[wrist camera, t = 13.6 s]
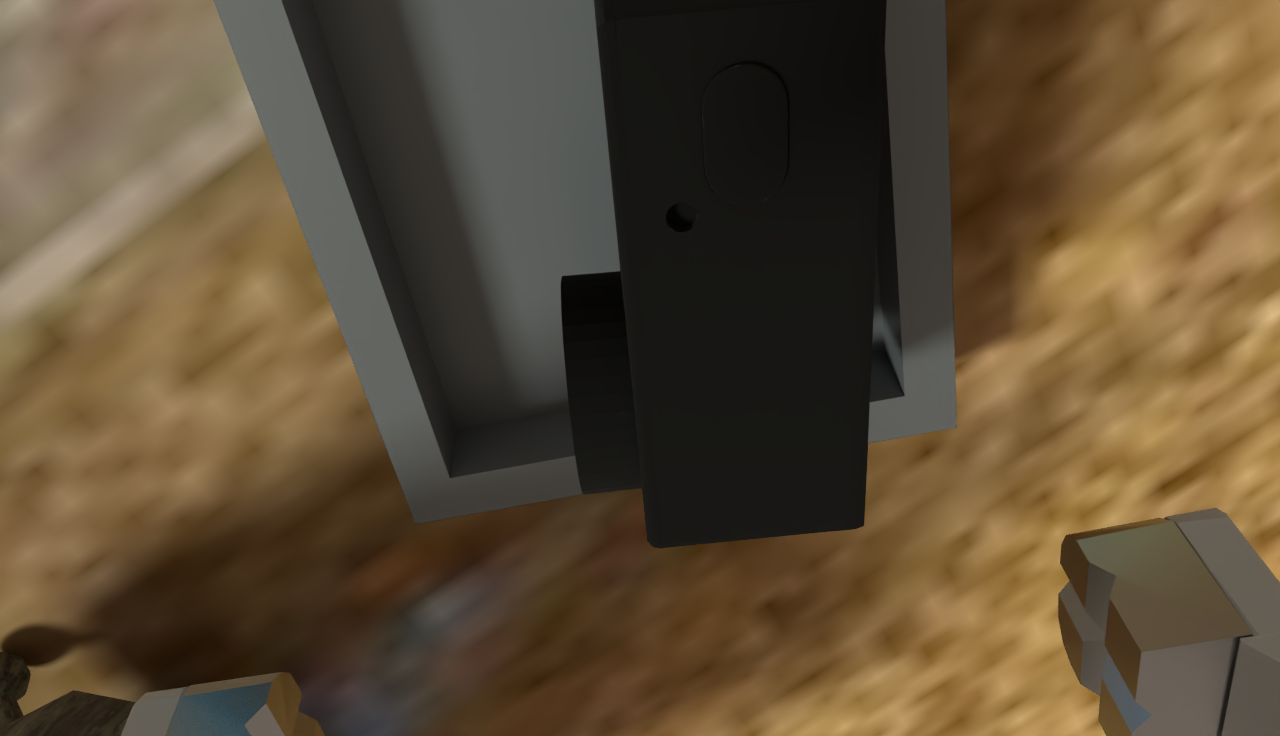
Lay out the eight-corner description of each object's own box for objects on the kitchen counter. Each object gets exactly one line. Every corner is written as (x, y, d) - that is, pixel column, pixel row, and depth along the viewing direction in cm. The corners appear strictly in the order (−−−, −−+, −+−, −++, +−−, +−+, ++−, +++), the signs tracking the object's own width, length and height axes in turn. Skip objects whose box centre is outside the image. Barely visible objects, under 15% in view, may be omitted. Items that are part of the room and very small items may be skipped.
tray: (197, -169, 21) (155, -150, 19) (897, -316, 20) (937, -315, 18) (426, 462, 29) (415, 524, 27) (927, 371, 28) (956, 427, 26)
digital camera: (527, -74, 21) (513, 21, 16) (801, -101, 22) (891, -15, 16) (583, 367, 27) (588, 560, 21) (800, 346, 27) (865, 533, 21)
